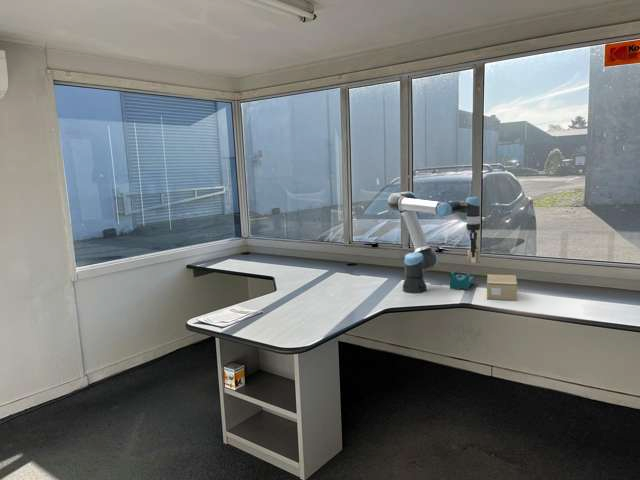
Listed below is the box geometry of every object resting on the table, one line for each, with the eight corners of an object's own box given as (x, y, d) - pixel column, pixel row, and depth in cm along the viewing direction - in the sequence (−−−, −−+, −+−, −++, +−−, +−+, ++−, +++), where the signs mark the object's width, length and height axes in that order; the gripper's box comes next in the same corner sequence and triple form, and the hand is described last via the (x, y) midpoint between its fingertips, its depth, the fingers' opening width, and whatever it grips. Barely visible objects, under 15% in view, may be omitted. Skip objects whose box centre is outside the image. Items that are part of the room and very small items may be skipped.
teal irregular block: (466, 291, 282) (468, 275, 280) (449, 288, 288) (450, 272, 285) (472, 284, 298) (474, 268, 296) (456, 281, 303) (457, 266, 301)
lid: (486, 283, 261) (486, 282, 261) (487, 275, 279) (487, 274, 279) (517, 285, 255) (517, 283, 255) (515, 276, 273) (515, 275, 273)
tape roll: (474, 263, 267) (474, 251, 266) (465, 261, 273) (465, 250, 272) (482, 261, 270) (482, 250, 269) (473, 260, 276) (473, 248, 275)
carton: (486, 299, 262) (486, 284, 261) (487, 289, 280) (487, 275, 279) (516, 300, 256) (517, 285, 255) (515, 291, 275) (515, 276, 273)
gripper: (479, 225, 258) (479, 264, 261) (480, 221, 276) (480, 257, 279) (465, 225, 260) (466, 264, 264) (467, 221, 278) (468, 257, 282)
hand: (473, 261), depth 272 cm, fingers closed on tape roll, 7 cm apart
